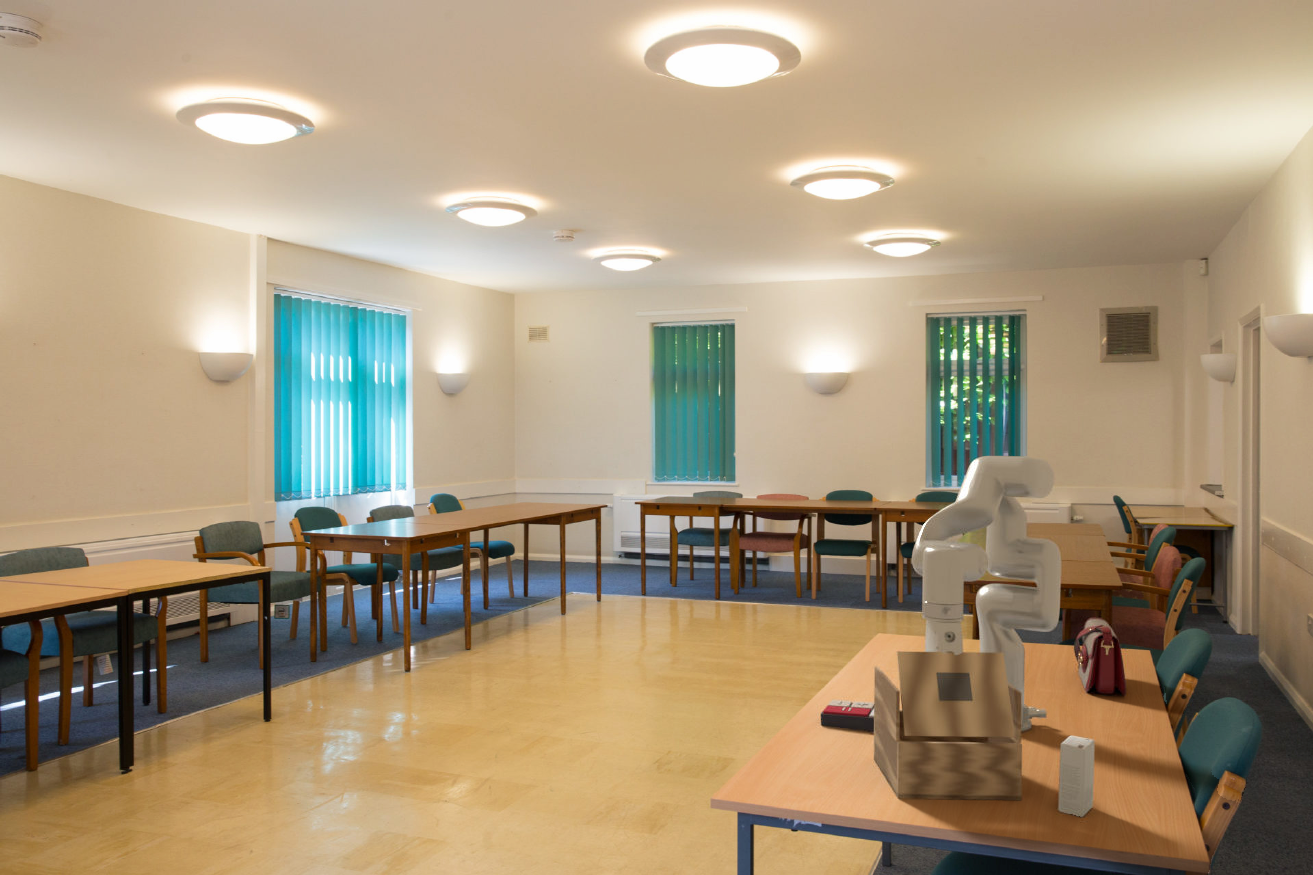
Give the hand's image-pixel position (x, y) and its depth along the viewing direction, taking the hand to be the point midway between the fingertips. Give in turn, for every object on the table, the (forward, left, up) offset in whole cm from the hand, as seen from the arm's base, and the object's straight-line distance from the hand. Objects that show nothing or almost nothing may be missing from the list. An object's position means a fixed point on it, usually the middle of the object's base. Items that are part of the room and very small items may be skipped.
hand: (941, 706), depth 177 cm
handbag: (-61, -68, -14) cm, 92 cm away
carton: (0, +1, -13) cm, 13 cm away
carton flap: (0, +7, +5) cm, 9 cm away
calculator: (+9, -33, -14) cm, 37 cm away
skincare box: (-19, +15, -14) cm, 28 cm away
